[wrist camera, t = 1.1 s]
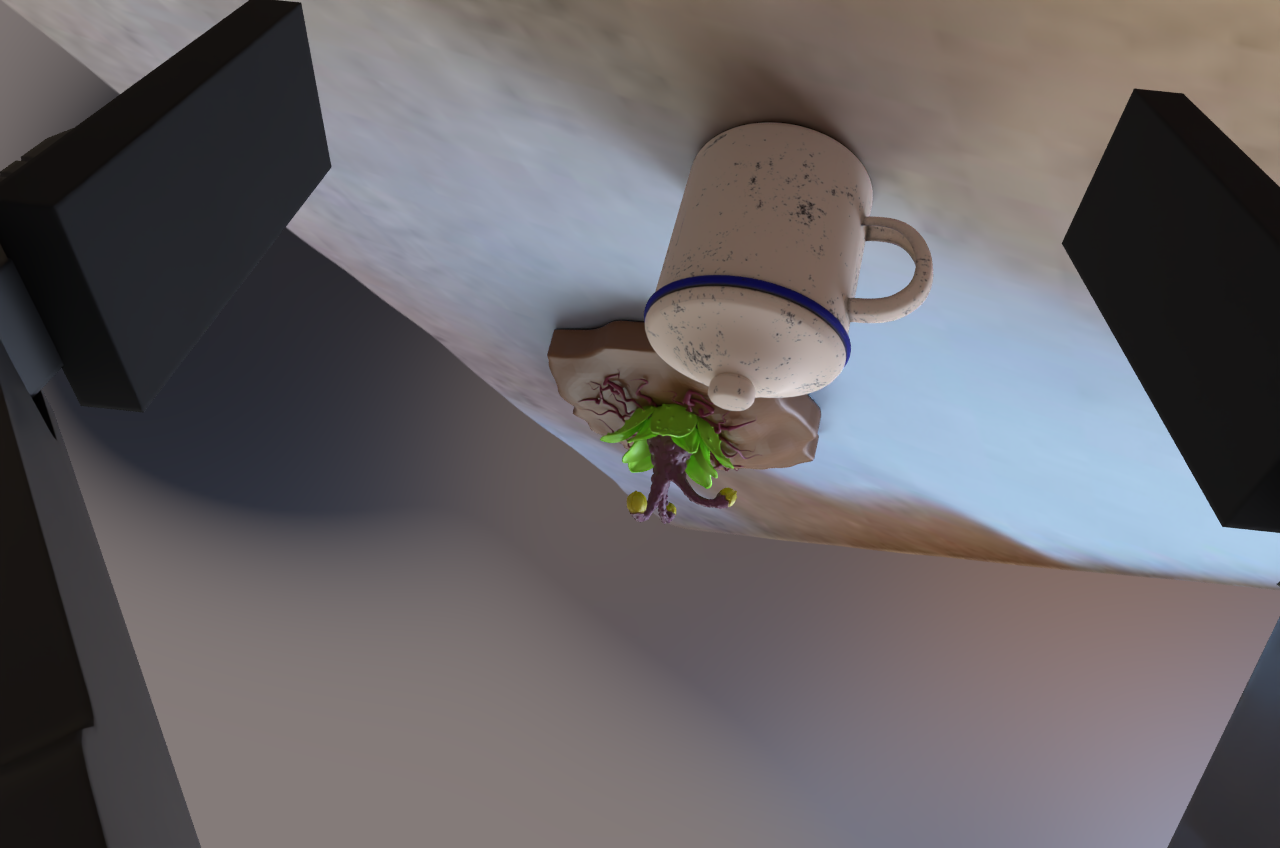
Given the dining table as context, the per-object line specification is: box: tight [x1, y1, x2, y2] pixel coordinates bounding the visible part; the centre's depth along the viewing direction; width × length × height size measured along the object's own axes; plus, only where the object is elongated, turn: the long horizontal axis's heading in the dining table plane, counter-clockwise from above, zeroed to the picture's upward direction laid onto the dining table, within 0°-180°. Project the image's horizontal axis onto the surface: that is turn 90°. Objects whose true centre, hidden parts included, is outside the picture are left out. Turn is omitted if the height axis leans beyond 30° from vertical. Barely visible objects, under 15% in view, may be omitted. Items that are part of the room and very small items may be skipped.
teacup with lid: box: [644, 122, 933, 411], centre depth 37 cm, size 12×9×12 cm
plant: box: [547, 321, 821, 523], centre depth 62 cm, size 20×20×11 cm
